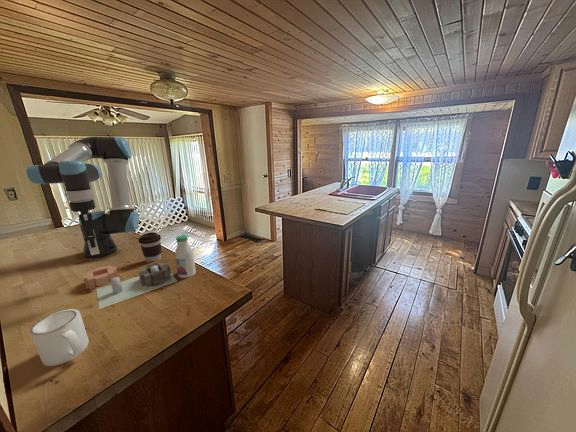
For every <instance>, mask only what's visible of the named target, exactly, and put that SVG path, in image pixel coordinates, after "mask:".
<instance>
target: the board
mask: <svg viewBox="0 0 576 432" xmlns="http://www.w3.org/2000/svg"><path fill="white" fill-rule="evenodd" d="M150 270H151V273H152V272H156V271H159V270H158V266H152V267H150ZM177 282H178V280H177V279H176V278H175V276H174V275H173V274H172V273H171V277H170V280H168V281H165V283H163V284H160V285H157V286H154V285H152V286H150V287H147V286H146V285H144V286H142V284H141V282H140V277H139V275H138V276H135V277H132V278H129V279H124V280H122V281H121V278H120V276H118V277H114V278H112V279H111V280H110V285H106V286H103V287H99V288H96V289H95V290H96V296H97V303H98V309H99V310H101V309H103V308H107V307H109V306H112V305H114V304H117V303H121V302H124V301H126V300H128V299H132V298H134V297H137V296H140V295H143V294H146V293H148V292H152V291H153V290H157V289H160V288H162V287H166V286H169V285H170V284H174V283H177Z"/></svg>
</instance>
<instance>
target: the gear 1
mask: <svg viewBox="0 0 576 432" xmlns="http://www.w3.org/2000/svg"><path fill="white" fill-rule="evenodd" d="M82 276H83V278H82V279H83V281H84V285H85V288H86V290H88V289H90V290H89V291H93V290H96V289H97V288H98V287H100V286H104V285H106V284H110V283H111V281H110V280H111V279H112V278H114V277H119V273H118V269H117V266H116V265H115V266H113V265H112V264H111V265H107V266H106V265H104V266H103V265H102V266H100V267H96V268H93V269H92V270H89V271H88V270H87V271H86V274H83V275H82ZM96 286H97V288H96Z"/></svg>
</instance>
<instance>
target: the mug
mask: <svg viewBox="0 0 576 432" xmlns="http://www.w3.org/2000/svg"><path fill="white" fill-rule="evenodd" d="M83 321H84V320H83V318H82V315H81V311H80V310H78V309H75V308H67V309H63V310H58V311H56V312H53V313H51V314H47V315H46V316H45V317H43V318H41V319H39V320H38V321H37V322H35V323H34V324H33V325H32V327H30V330H29V333H30V336H31V338H32V340H33V344H34V346H35V348H36V350H37V353H38V356H39V358H40V360H41V363H42V364H43V366H47V367H55V366H59V365H61V364H65V363H67V362H69V361H71V360H73V359H74V358H76V357H78V356H79V355H81V354H82V353H84V351H85V350H86V348H87V347H88V345H89V342H90V341H89V337H88V334H87V331H86V328H85V324H84V322H83Z"/></svg>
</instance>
